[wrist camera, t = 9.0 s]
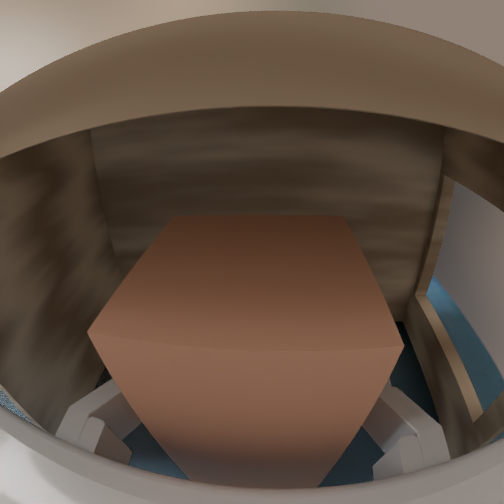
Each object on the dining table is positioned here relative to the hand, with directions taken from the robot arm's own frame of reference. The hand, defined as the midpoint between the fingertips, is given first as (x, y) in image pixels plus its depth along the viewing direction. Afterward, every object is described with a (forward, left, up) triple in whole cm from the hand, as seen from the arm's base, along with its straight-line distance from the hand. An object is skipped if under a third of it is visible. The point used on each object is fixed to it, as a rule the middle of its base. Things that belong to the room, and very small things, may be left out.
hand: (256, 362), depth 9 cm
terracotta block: (-1, -1, -5) cm, 6 cm away
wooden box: (+3, +3, -7) cm, 8 cm away
